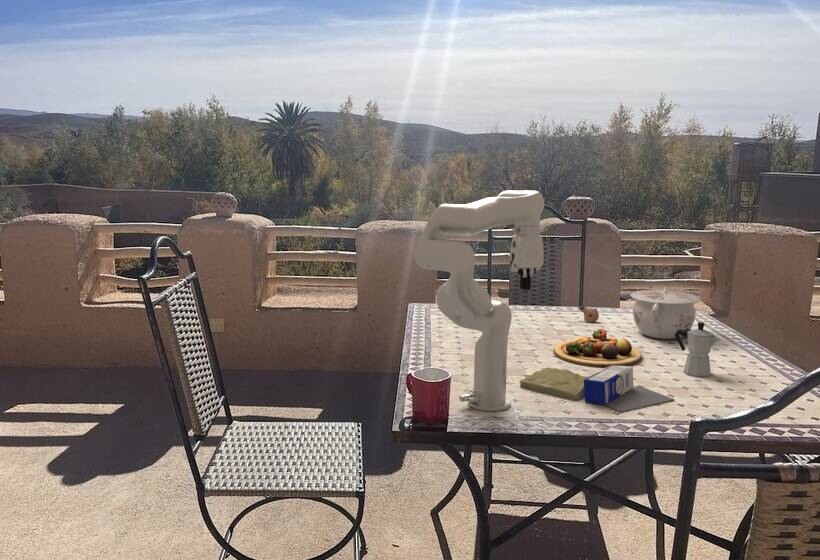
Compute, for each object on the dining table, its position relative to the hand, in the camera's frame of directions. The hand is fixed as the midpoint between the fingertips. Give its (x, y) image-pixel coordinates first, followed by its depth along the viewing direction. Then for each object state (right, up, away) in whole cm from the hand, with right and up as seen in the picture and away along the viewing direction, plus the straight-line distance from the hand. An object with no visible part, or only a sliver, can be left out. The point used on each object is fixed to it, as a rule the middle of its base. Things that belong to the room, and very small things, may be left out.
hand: (525, 289), depth 210 cm
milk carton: (+19, -31, -10) cm, 37 cm away
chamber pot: (+69, -21, +70) cm, 101 cm away
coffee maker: (+62, -29, +21) cm, 72 cm away
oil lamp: (+45, -16, +93) cm, 105 cm away
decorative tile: (+13, -32, +7) cm, 35 cm away
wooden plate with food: (+34, -26, +42) cm, 60 cm away
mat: (+31, -34, -5) cm, 46 cm away
